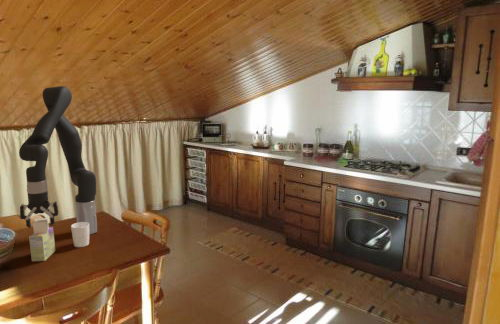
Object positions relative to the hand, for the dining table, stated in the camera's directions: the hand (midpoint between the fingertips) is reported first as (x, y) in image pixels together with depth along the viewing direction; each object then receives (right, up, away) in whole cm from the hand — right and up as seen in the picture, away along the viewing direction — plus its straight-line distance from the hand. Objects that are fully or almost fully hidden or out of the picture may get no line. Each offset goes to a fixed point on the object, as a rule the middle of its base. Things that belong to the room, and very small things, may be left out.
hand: (40, 226), depth 158 cm
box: (0, -14, +3) cm, 14 cm away
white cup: (+11, -12, +16) cm, 22 cm away
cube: (0, -2, +1) cm, 2 cm away
